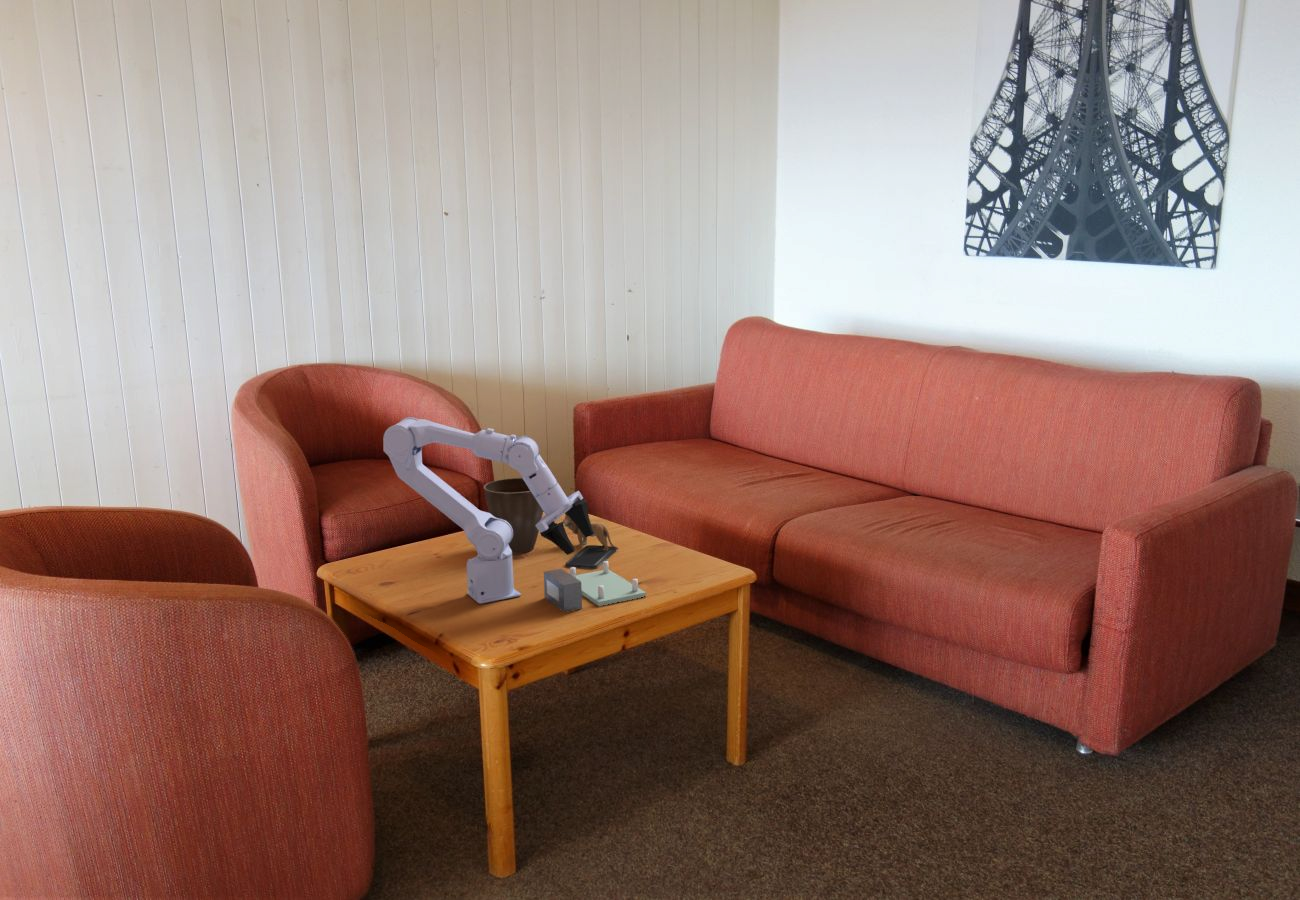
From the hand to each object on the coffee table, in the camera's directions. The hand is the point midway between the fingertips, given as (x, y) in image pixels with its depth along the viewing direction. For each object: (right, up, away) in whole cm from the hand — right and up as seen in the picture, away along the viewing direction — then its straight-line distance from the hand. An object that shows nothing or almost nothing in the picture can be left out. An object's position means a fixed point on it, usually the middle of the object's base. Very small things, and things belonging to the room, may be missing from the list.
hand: (580, 544), depth 233 cm
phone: (+1, -6, +28) cm, 28 cm away
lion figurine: (0, -4, +36) cm, 36 cm away
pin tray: (+5, -10, +6) cm, 13 cm away
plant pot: (-17, -4, +36) cm, 40 cm away
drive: (-4, -12, -2) cm, 13 cm away
